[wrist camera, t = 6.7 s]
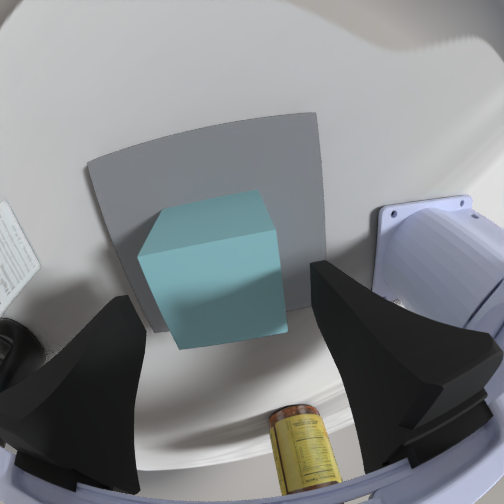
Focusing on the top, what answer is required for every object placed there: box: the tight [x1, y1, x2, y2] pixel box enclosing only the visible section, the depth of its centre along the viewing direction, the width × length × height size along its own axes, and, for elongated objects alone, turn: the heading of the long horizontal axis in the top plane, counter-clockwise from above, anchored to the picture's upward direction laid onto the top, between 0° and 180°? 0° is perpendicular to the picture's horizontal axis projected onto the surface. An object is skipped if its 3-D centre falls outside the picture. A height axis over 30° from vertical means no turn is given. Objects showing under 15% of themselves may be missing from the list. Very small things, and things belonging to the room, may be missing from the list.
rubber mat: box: [87, 113, 326, 333], centre depth 15 cm, size 12×12×1 cm
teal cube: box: [137, 190, 288, 350], centre depth 13 cm, size 5×5×5 cm
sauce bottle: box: [269, 405, 344, 504], centre depth 19 cm, size 6×6×20 cm
